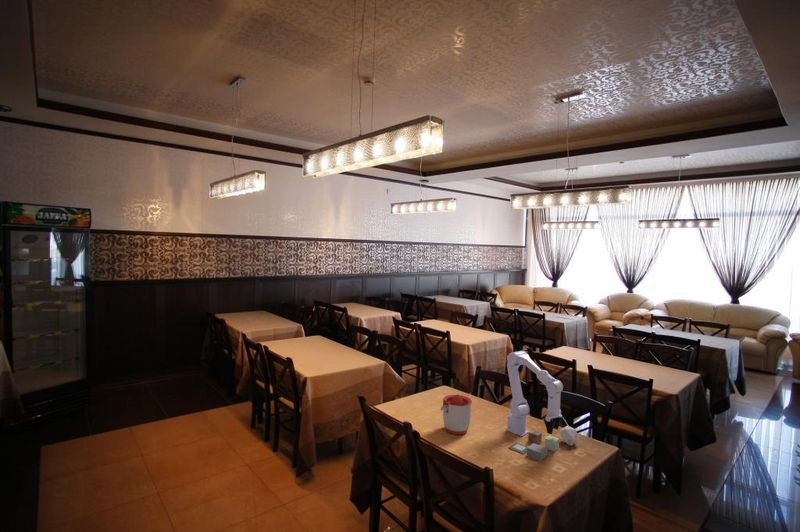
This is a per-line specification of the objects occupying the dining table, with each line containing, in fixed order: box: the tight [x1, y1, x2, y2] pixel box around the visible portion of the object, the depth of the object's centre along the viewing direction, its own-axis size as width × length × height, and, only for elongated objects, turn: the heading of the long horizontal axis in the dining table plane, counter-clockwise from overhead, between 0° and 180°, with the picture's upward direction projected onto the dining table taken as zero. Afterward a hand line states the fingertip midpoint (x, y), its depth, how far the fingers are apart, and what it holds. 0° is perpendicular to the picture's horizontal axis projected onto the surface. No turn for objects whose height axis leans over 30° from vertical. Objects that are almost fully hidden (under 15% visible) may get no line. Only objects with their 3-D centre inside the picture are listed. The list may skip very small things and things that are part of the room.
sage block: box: [544, 434, 560, 452], centre depth 199 cm, size 5×5×5 cm
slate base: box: [526, 443, 548, 462], centre depth 191 cm, size 7×7×4 cm
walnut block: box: [527, 428, 543, 445], centre depth 205 cm, size 5×5×5 cm
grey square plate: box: [508, 441, 528, 455], centre depth 197 cm, size 8×8×1 cm
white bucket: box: [440, 394, 473, 435], centre depth 214 cm, size 16×17×20 cm
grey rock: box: [559, 425, 580, 446], centre depth 205 cm, size 8×9×10 cm
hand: (552, 431), depth 198 cm, fingers open, 7 cm apart
